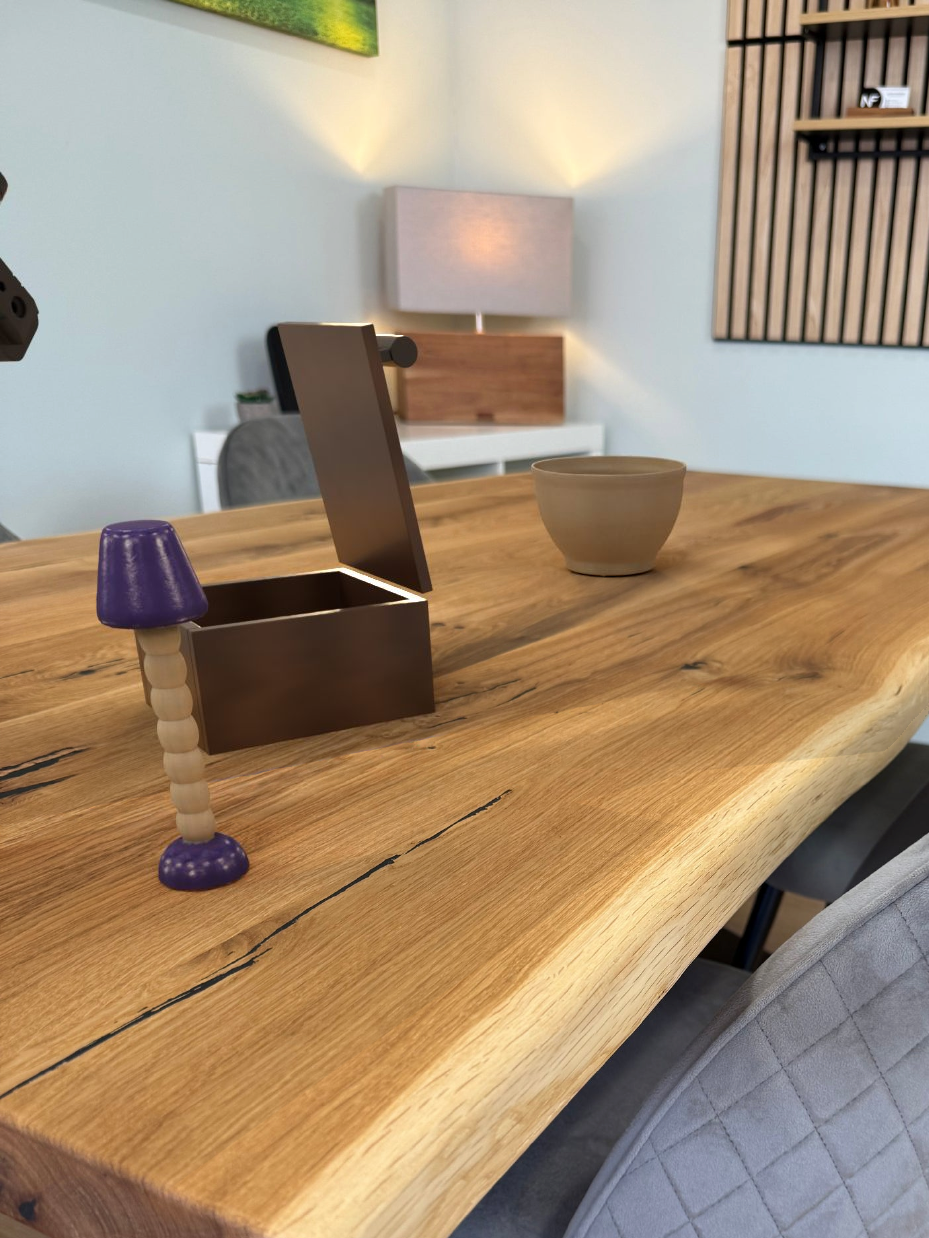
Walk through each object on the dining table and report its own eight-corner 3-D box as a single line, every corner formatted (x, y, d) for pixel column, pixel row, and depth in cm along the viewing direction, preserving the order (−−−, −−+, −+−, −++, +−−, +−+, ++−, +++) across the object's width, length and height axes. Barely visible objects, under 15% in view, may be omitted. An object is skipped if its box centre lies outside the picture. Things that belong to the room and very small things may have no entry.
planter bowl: (519, 559, 135) (515, 457, 130) (656, 552, 139) (657, 453, 135) (555, 588, 121) (552, 475, 116) (705, 579, 125) (708, 470, 121)
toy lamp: (192, 903, 56) (132, 535, 49) (123, 881, 58) (56, 526, 51) (268, 865, 60) (222, 520, 53) (201, 846, 62) (149, 512, 55)
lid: (360, 326, 67) (439, 310, 69) (276, 323, 76) (348, 309, 78) (422, 594, 74) (491, 571, 77) (338, 562, 84) (402, 543, 86)
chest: (213, 780, 71) (191, 632, 67) (149, 726, 80) (127, 592, 76) (437, 735, 78) (428, 599, 75) (355, 690, 88) (344, 567, 84)
